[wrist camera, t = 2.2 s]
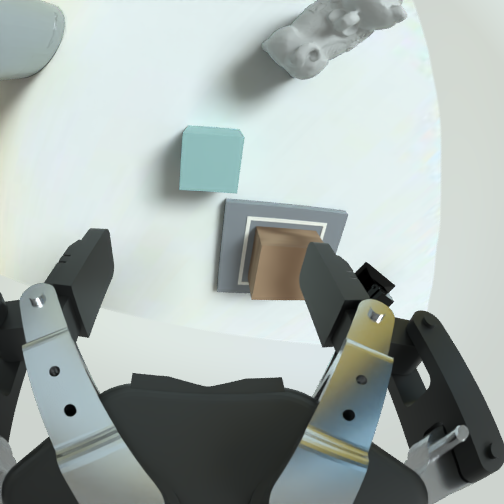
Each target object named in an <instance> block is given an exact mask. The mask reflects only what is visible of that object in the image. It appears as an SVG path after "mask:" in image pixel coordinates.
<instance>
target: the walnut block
mask: <svg viewBox="0 0 504 504" xmlns="http://www.w3.org/2000/svg"><path fill="white" fill-rule="evenodd" d="M310 242H319V243H324V242H323V241H322V239H321V238H320V236H319V235H318V233H317V232H316V231H313V230H301V229H288V228H276V227H262V226H256V230H255V236H254V242H253V248H252V254H251V260H250V266H249V272H248V282H249V288H250V293H251V299H252V300H305V299H304V297H303V294H302V291H301V289H300V285H299V276H300V271H301V268H302V264H303V261H304V257H305V254H306V250H307V247H308V244H309V243H310Z"/></svg>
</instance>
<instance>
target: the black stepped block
mask: <svg viewBox="0 0 504 504" xmlns="http://www.w3.org/2000/svg"><path fill="white" fill-rule="evenodd" d="M355 275H356V276H357V279H359V281H360V283H361V284H362V286H363V287H364V289H365V290H366V292H367V294H368V295H369V297H370V298H371V299H373V300H377V301H380V302H382V303H384V304H385V305H387V306H388V307H389V306H390V305H391V304H392V303H393V302H394V301H393V299H392V297H391V296H390V294H389V292H390V291H391V290H392V289H393V288H394V287H395V285H394V284H393V283H391V282H390V281H389V280H388V279H387V278H385V277H384V276H383V275H382V274H381V273H379V272H378V271H377V270H376V269H375V268H373V267H372V266H371V265H370V264H368V263H367V262H365V263H364V264H363V265H362V266H361V267H360V268H359V269H358V270H357V271H356V272H355Z"/></svg>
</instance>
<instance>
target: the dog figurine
mask: <svg viewBox="0 0 504 504" xmlns="http://www.w3.org/2000/svg"><path fill="white" fill-rule="evenodd" d="M402 2H403V0H317V1H315V2H314V3H313V4H311V5H309V6H308V7H307V8H305V9H304V12H303V13H302V14H300V15H299V16H298V17H297V18H296V19H295V20H294V21H293V23H292V24H291V25H290V26H285V27H282V28H280V29H278V30H276V31H275V32H274V33H273V34H272V35H271V36H270V38H269V39H268V40H265V41H264V42H263V43H262V49H263V50H264V51H265V52H268V53H269V55H270V57H271V58H272V59H273V60H274V61H275V62H276V63H277V64H278V65H279V66H281V67H283V68H284V69H285V70H286V71H287V72H288V73H289V75H290V76H291V77H294V78H298V79H309V78H312V77H314V76H316V75H317V74H319V73H320V72H321V71H322V70H323V69H324V68H325V67H326V66H327V65H328V60H331V59H333V58H335V57H337V56H338V55H341V54H342V53H344V52H348V51H350V50H351V49H353V48H354V47H356V46H357V45H358V44H359V43H361V42H362V41H364V40H365V39H366V38H367V37H369V36H370V35H371V34H372V33H373V32H374V30H382V29H387V28H390V27H392V26H394V25H395V24H396V23H399V22H401V21H403V20H404V19H406V17H407V13H406V12H405V10H404V8H403V7H402V6H401V4H402Z"/></svg>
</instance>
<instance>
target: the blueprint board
mask: <svg viewBox="0 0 504 504" xmlns="http://www.w3.org/2000/svg"><path fill="white" fill-rule="evenodd" d="M347 217H348V214H347V213H346V211H343V210H335V209H327V208H318V207H310V206H301V205H292V204H282V203H272V202H261V201H249V200H237V199H226V203H225V212H224V221H223V231H222V241H221V251H220V261H219V272H218V283H217V292H232V293H250V288H249V282H248V272H249V266H250V260H251V254H252V248H253V242H254V236H255V230H256V226H262V227H276V228H288V229H301V230H313V231H316V232H317V233H318V235H319V236H320V238H321V239H322V241H323V242H324V243H328V244H329V245H330V246H331V248H332V249H333V251H334V252H335V254H336V251H337V248H338V245H339V242H340V239H341V236H342V233H343V230H344V226H345V223H346V220H347Z"/></svg>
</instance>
